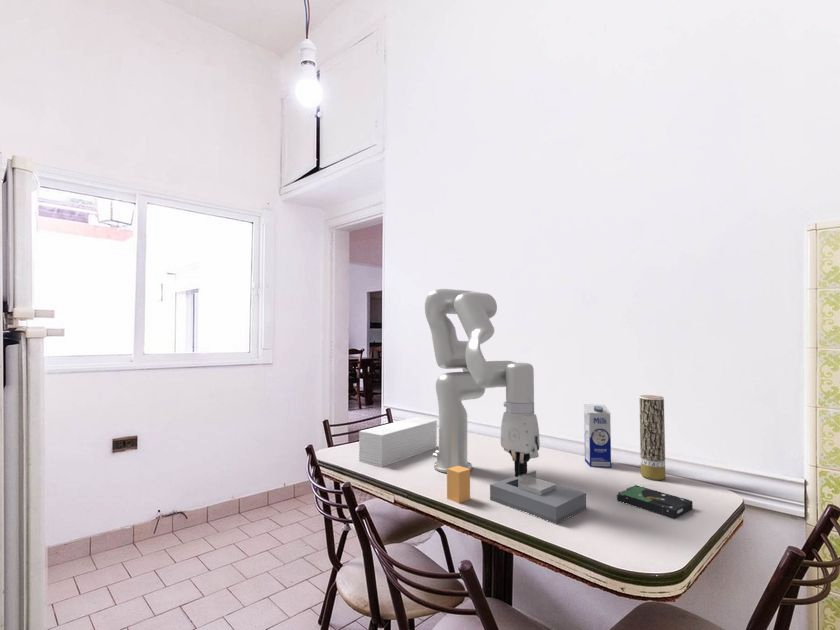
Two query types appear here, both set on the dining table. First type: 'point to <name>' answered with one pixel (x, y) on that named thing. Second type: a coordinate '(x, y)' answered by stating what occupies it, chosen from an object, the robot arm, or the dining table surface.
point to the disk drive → (655, 501)
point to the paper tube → (652, 437)
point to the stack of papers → (397, 441)
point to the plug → (458, 484)
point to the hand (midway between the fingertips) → (520, 476)
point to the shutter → (534, 483)
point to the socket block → (539, 500)
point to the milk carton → (597, 435)
